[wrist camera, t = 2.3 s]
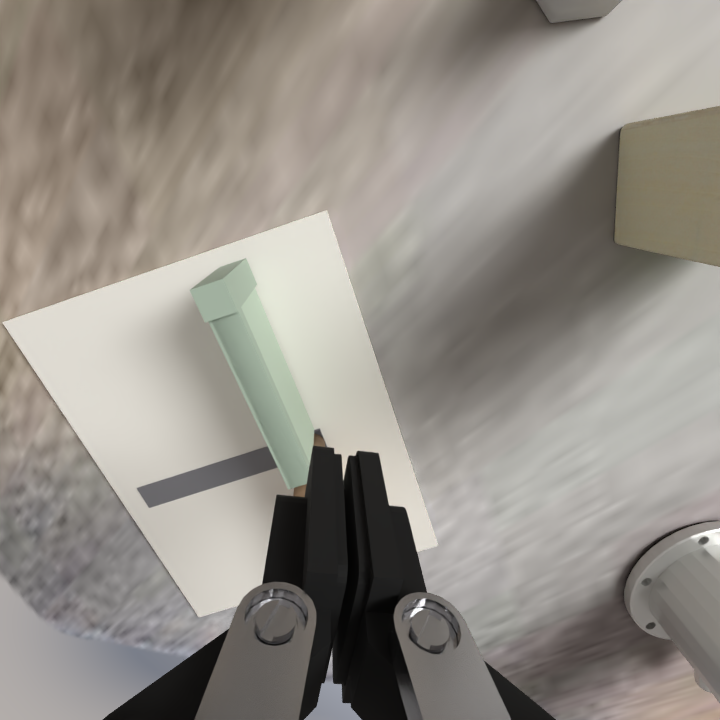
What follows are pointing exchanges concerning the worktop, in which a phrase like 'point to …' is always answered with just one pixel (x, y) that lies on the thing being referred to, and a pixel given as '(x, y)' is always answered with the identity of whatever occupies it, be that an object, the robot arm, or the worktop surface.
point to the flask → (576, 9)
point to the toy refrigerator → (671, 186)
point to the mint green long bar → (258, 366)
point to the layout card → (216, 401)
